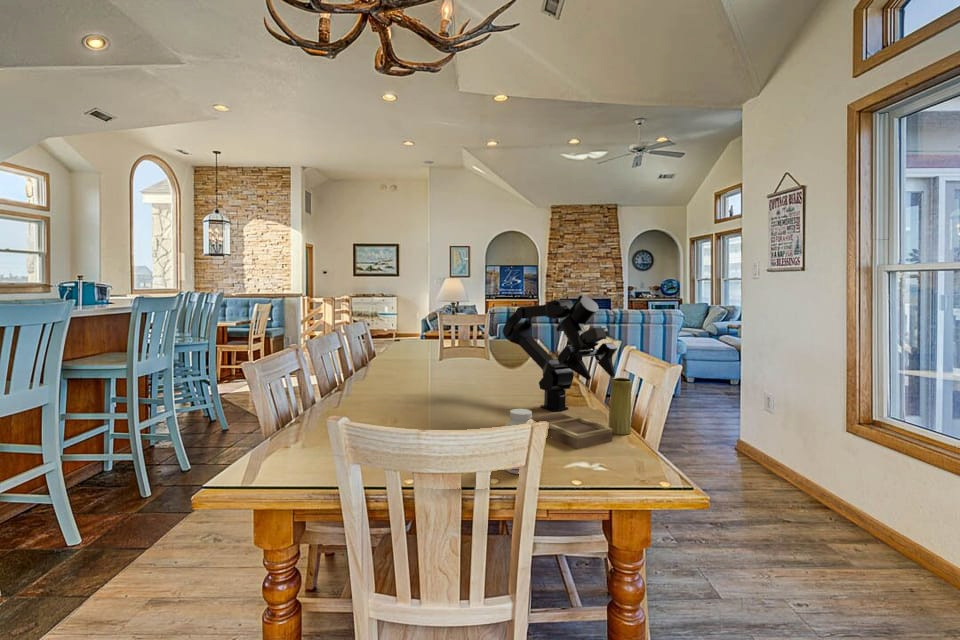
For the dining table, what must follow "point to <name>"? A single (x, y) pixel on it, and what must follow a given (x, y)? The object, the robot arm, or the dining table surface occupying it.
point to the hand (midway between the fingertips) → (601, 377)
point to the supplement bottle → (518, 418)
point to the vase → (620, 406)
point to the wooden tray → (575, 430)
